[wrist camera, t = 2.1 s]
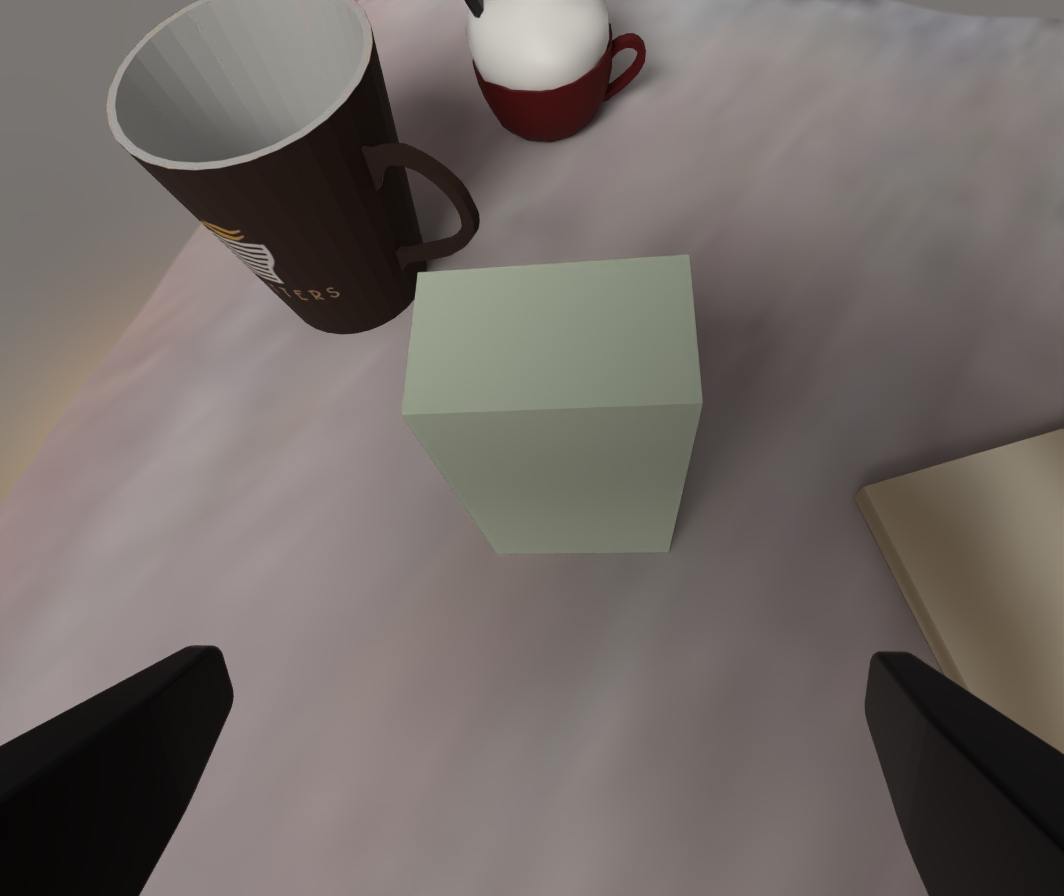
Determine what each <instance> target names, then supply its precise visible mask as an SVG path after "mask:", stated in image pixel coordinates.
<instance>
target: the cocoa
mask: <svg viewBox="0 0 1064 896" xmlns="http://www.w3.org/2000/svg"><path fill="white" fill-rule="evenodd" d="M465 2H466V4H467V5H468V7H469V11H468V17H467V23H466V35H467V39H468V44H469V49H470V51H471V54H472V57H473V66H474V70H475V73H476V77H477V81H478V84H479V86H480V88H481V91H482V93H483V95H484V97H485V99H486V101H487V103H488V104H489V106H490V108H491V110H492V111H493V113H494V114H495V116H496V117H497V119H498V120H499V121H500V123H501V124H502V126H503V127H504V128H506V129H507V130H509V131H510V132H512V133H514V134H516V135H519V136H521V137H523V138H525V139H527V140H535V141H552V140H556V139H560V138H563V137H567V136H571V135H572V134H574V133H575V132H577V131H578V130H579V129H581V128H582V127H584V126H585V125H587V124H588V123H589V122H590V120H591V119H592V118H593V117H594V115H595V114H596V112H597V110H598V109H599V107H600V105H601V104H602V102H604V101H606V100H608V99H610V98H611V97H612V96H614V95H615V94H617V93H618V92H619V91H621V90H622V89H623V88H624V87H625V86H627V85H628V84H629V83H630V82H631V81H632V80H633V79H634V78H635V77H636V76H637V75H638V73H639V72H640V70H641V68H642V66H643V64H644V62H645V54H646V49H645V44H644V41H643V40H642V39H641V38H640V37H639V36H638V35H636V34H634V33H628V34H624V35H621V36H618V37H617V38H616V39H614V40H613V41H612V30H611V24H610V23H609V22H608V9H607V4H606V0H465ZM625 48H633V49H635V50H636V51H637V56H636V59H635V61H634V62H633V64H632V65H631V66H630V67H629V68H628V69H627V70H626V71H625V72H624V73H623V74H621V75H620V76H619V77H618V78H617V79H615V80H614V81H613V82H612V83H610V84H609V79H610V74H611V69H612V58H613V57H614V56H615V55H616V54H617V53H618V52H619V51H621V50H623V49H625Z"/></svg>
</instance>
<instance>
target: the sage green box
mask: <svg viewBox="0 0 1064 896" xmlns="http://www.w3.org/2000/svg"><path fill="white" fill-rule="evenodd" d="M702 405H703V398H702V387H701V377H700V366H699V355H698V344H697V333H696V322H695V312H694V301H693V290H692V279H691V268H690V258H689V254H687V255H672V256H657V257H642V258H628V259H613V260H598V261H583V262H568V263H553V264H538V265H523V266H508V267H493V268H478V269H463V270H449V271H434V272H419V273H418V275H417V284H416V292H415V301H414V309H413V318H412V326H411V335H410V343H409V352H408V360H407V369H406V377H405V386H404V394H403V403H402V411H401V415H402V417H403V418H404V420H405V421H406V423H407V424H408V426H409V427H410V429H411V430H412V431H413V433H414V434H415V436H416V437H417V439H418V440H419V442H420V443H421V445H422V446H423V447H424V449H425V450H426V452H427V453H428V455H429V456H430V458H431V459H432V460H433V462H434V463H435V465H436V466H437V468H438V469H439V471H440V472H441V474H442V475H443V476H444V478H445V479H446V481H447V482H448V484H449V485H450V487H451V488H452V489H453V491H454V492H455V494H456V495H457V497H458V498H459V500H460V501H461V503H462V504H463V505H464V507H465V508H466V510H467V511H468V513H469V514H470V516H471V517H472V518H473V520H474V521H475V523H476V524H477V526H478V527H479V529H480V530H481V532H482V533H483V534H484V536H485V537H486V539H487V540H488V542H489V543H490V545H491V546H492V548H493V549H494V550H495V552H496V553H497V554H561V553H661V552H669V549H670V544H671V540H672V536H673V531H674V527H675V523H676V518H677V514H678V510H679V505H680V501H681V497H682V492H683V488H684V484H685V479H686V475H687V471H688V466H689V462H690V457H691V453H692V449H693V444H694V440H695V436H696V431H697V427H698V423H699V418H700V414H701V410H702Z"/></svg>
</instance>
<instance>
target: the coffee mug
mask: <svg viewBox="0 0 1064 896" xmlns="http://www.w3.org/2000/svg"><path fill="white" fill-rule="evenodd" d="M106 110H107V118H108V125H109V127H110V129H111V131H112V133H113V135H114V137H115V139H116V140H117V142H118V143H119V144H120V145H121V146H122V147H123V148H124V149H125V150H126V151H127V152H129V154H131V156H133V157H134V158H135V159H136V160H137V161H138V162H139V163H140V164H141V165H142V166H143V167H144V168H145V169H146V170H147V171H148V172H149V173H150V174H151V175H152V176H153V177H155V178H156V180H158V181H159V182H160V183H161V184H162V185H163V186H164V187H165V188H166V189H167V190H168V191H169V192H170V193H171V194H172V195H173V196H174V197H175V198H176V199H177V200H178V201H179V202H181V203H182V204H183V205H184V206H185V207H186V208H187V209H188V210H189V211H190V212H191V213H192V214H193V215H194V216H195V217H196V218H197V219H198V220H199V221H200V222H201V223H202V224H203V225H204V226H206V227H207V228H208V229H209V230H210V231H211V232H212V233H213V234H214V235H215V236H216V237H217V238H218V239H219V240H220V241H221V242H222V243H223V244H224V245H225V246H226V247H227V248H228V249H230V250H231V251H232V252H233V253H234V254H235V255H236V256H237V257H238V258H239V259H240V260H241V261H242V262H243V263H244V264H245V265H246V266H247V267H248V268H249V269H250V270H251V271H252V272H253V273H255V274H256V275H257V276H258V277H259V278H260V279H261V280H262V281H263V282H264V283H265V284H266V285H267V286H268V287H269V288H270V289H271V290H272V291H273V292H274V293H275V294H276V295H277V296H279V297H280V298H281V299H282V300H283V301H284V302H285V303H286V304H287V305H288V306H289V307H290V308H291V309H292V310H293V311H294V312H295V313H296V314H297V315H298V316H299V317H300V318H301V319H303V320H304V321H305V322H306V323H307V324H309V325H311V326H312V327H314V328H316V329H318V330H321V331H324V332H327V333H335V334H354V333H359V332H363V331H368V330H371V329H373V328H376V327H378V326H381V325H383V324H385V323H386V322H388V321H390V320H392V319H393V318H395V317H396V316H397V315H399V314H400V313H401V312H402V311H403V310H405V309H406V308H407V307H408V305H409V304H410V303H411V302H412V301H413V300H414V298H415V292H416V284H417V275H418V273H419V272H426V265H427V263H426V260H430V259H436V258H441V257H446V256H450V255H452V254H454V253H455V252H457V251H459V250H461V249H462V248H464V247H465V246H466V245H467V244H468V243H469V242H470V240H471V239H472V238H473V236H474V235H475V233H476V232H477V230H478V228H479V223H480V218H479V212H478V209H477V207H476V205H475V203H474V201H473V199H472V198H471V196H470V194H469V192H468V190H467V188H466V187H465V186H464V184H463V183H462V182H461V181H460V179H459V178H458V177H457V176H455V175H454V174H453V173H452V172H451V171H450V170H449V169H448V168H446V167H445V166H444V165H443V164H441V163H440V162H438V161H437V160H436V159H434V158H432V157H431V156H429V155H427V154H426V153H424V152H422V151H420V150H418V149H416V148H414V147H412V146H409V145H407V144H403V143H399V141H398V137H397V133H396V129H395V124H394V120H393V116H392V112H391V107H390V103H389V99H388V95H387V91H386V86H385V82H384V78H383V74H382V70H381V65H380V61H379V57H378V53H377V49H376V44H375V40H374V36H373V32H372V28H371V24H370V22H369V20H368V18H367V16H366V13H365V11H364V10H363V9H362V8H361V6H360V5H359V4H358V3H357V2H356V1H355V0H198V1H196V2H194V3H192V4H190V5H188V6H187V7H184V8H182V9H181V10H179V11H178V12H176V13H175V14H173V15H172V16H170V17H169V18H167V19H165V20H164V21H162V22H161V23H160V24H159V25H158V26H156V27H155V28H154V29H153V30H152V31H150V32H149V33H148V34H147V35H146V36H144V37H143V38H142V39H141V41H140V42H139V43H138V44H137V45H136V46H135V47H134V48H133V49H132V50H131V51H130V53H129V54H128V55H127V57H126V58H125V60H124V61H123V63H122V64H121V66H120V67H119V69H118V70H117V72H116V74H115V76H114V79H113V81H112V84H111V86H110V89H109V93H108V99H107V105H106ZM405 167H407V168H410V169H413V170H415V171H417V172H419V173H421V174H422V175H424V176H425V177H427V178H428V179H429V180H431V181H432V182H433V183H435V184H436V185H437V186H438V187H439V188H440V189H442V190H443V191H444V193H445V194H446V195H447V196H448V197H449V198H450V200H451V201H452V202H453V204H454V205H455V207H456V209H457V210H458V212H459V215H460V218H461V224H462V227H461V230H460V231H459V232H458V233H457V234H455V235H454V236H452V237H450V238H446V239H442V240H438V241H434V242H429V243H423V242H422V238H421V234H420V230H419V225H418V221H417V217H416V213H415V208H414V204H413V200H412V196H411V192H410V187H409V183H408V179H407V175H406V171H405Z"/></svg>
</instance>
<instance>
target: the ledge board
mask: <svg viewBox="0 0 1064 896" xmlns="http://www.w3.org/2000/svg"><path fill="white" fill-rule="evenodd" d="M854 499H855V501H856V503H857V504H858V506H859V508H860V510H861V512H862V514H863V516H864V518H865V520H866V522H867V524H868V526H869V528H870V530H871V532H872V534H873V536H874V538H875V540H876V542H877V544H878V546H879V548H880V550H881V552H882V554H883V556H884V557H885V559H886V561H887V563H888V565H889V567H890V569H891V571H892V573H893V575H894V577H895V579H896V581H897V583H898V585H899V587H900V589H901V591H902V593H903V595H904V597H905V599H906V601H907V603H908V605H909V607H910V609H911V611H912V612H913V614H914V616H915V618H916V620H917V622H918V624H919V626H920V628H921V630H922V632H923V634H924V636H925V638H926V640H927V642H928V644H929V646H930V648H931V650H932V652H933V654H934V656H935V658H936V660H937V662H938V664H939V665H940V667H941V669H942V671H943V673H944V675H945V676H946V677H948V678H949V679H951V680H952V681H954V682H955V683H957V684H958V685H960V686H961V687H963V688H964V689H966V690H967V691H969V692H971V693H972V694H974V695H975V696H977V697H978V698H980V699H981V700H983V701H984V702H986V703H987V704H989V705H990V706H992V707H993V708H995V709H996V710H998V711H999V712H1001V713H1002V714H1004V715H1006V716H1007V717H1009V718H1010V719H1012V720H1013V721H1015V722H1016V723H1018V724H1019V725H1021V726H1022V727H1024V728H1025V729H1027V730H1028V731H1030V732H1031V733H1033V734H1034V735H1036V736H1038V737H1039V738H1041V739H1042V740H1044V741H1045V742H1047V743H1048V744H1050V745H1051V746H1053V747H1054V748H1056V749H1057V750H1059V751H1060V752H1062V753H1063V754H1064V428H1063V429H1059V430H1056V431H1053V432H1049V433H1046V434H1042V435H1039V436H1035V437H1032V438H1028V439H1025V440H1022V441H1018V442H1015V443H1011V444H1008V445H1004V446H1001V447H997V448H994V449H991V450H987V451H984V452H980V453H977V454H973V455H970V456H966V457H963V458H960V459H956V460H953V461H949V462H946V463H942V464H939V465H935V466H932V467H929V468H925V469H922V470H918V471H915V472H911V473H908V474H904V475H901V476H898V477H894V478H891V479H887V480H884V481H880V482H877V483H873V484H870V485H867V486H863V487H862V488H861V489H860V490H859V491H858V493H857V494H856V495H855V496H854Z"/></svg>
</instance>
